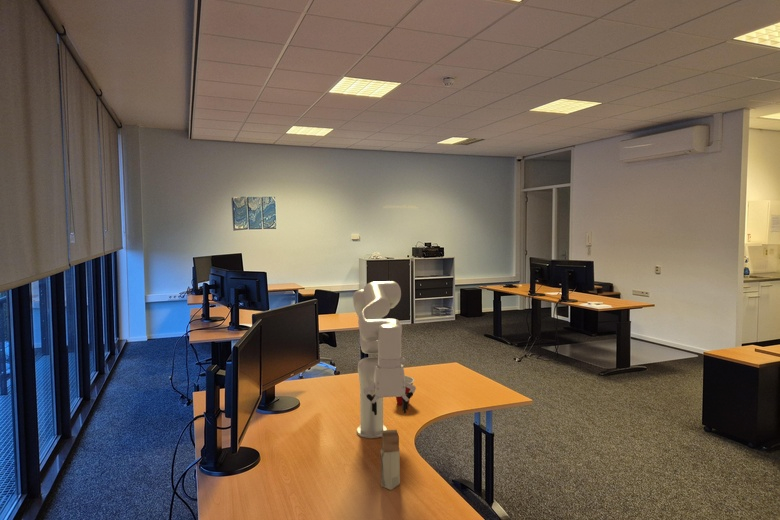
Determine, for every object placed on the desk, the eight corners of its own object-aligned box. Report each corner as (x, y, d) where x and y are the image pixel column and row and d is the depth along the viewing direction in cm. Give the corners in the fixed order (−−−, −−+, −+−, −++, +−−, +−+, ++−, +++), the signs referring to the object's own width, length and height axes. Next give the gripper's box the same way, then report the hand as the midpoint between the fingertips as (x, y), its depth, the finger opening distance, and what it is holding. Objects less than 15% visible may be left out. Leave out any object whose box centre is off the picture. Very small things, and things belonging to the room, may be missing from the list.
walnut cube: (381, 445, 158) (381, 430, 158) (396, 444, 159) (396, 429, 159) (383, 452, 153) (383, 437, 153) (399, 451, 154) (398, 436, 154)
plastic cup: (389, 406, 224) (389, 382, 224) (394, 398, 235) (394, 374, 234) (411, 408, 222) (411, 383, 221) (416, 400, 232) (415, 376, 231)
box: (390, 479, 161) (390, 443, 160) (400, 484, 158) (400, 447, 157) (380, 486, 156) (379, 449, 155) (390, 491, 154) (390, 453, 153)
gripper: (413, 357, 159) (413, 406, 161) (362, 359, 156) (362, 409, 158) (418, 364, 151) (417, 415, 153) (364, 366, 149) (364, 419, 151)
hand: (389, 412), depth 156 cm, fingers open, 9 cm apart
